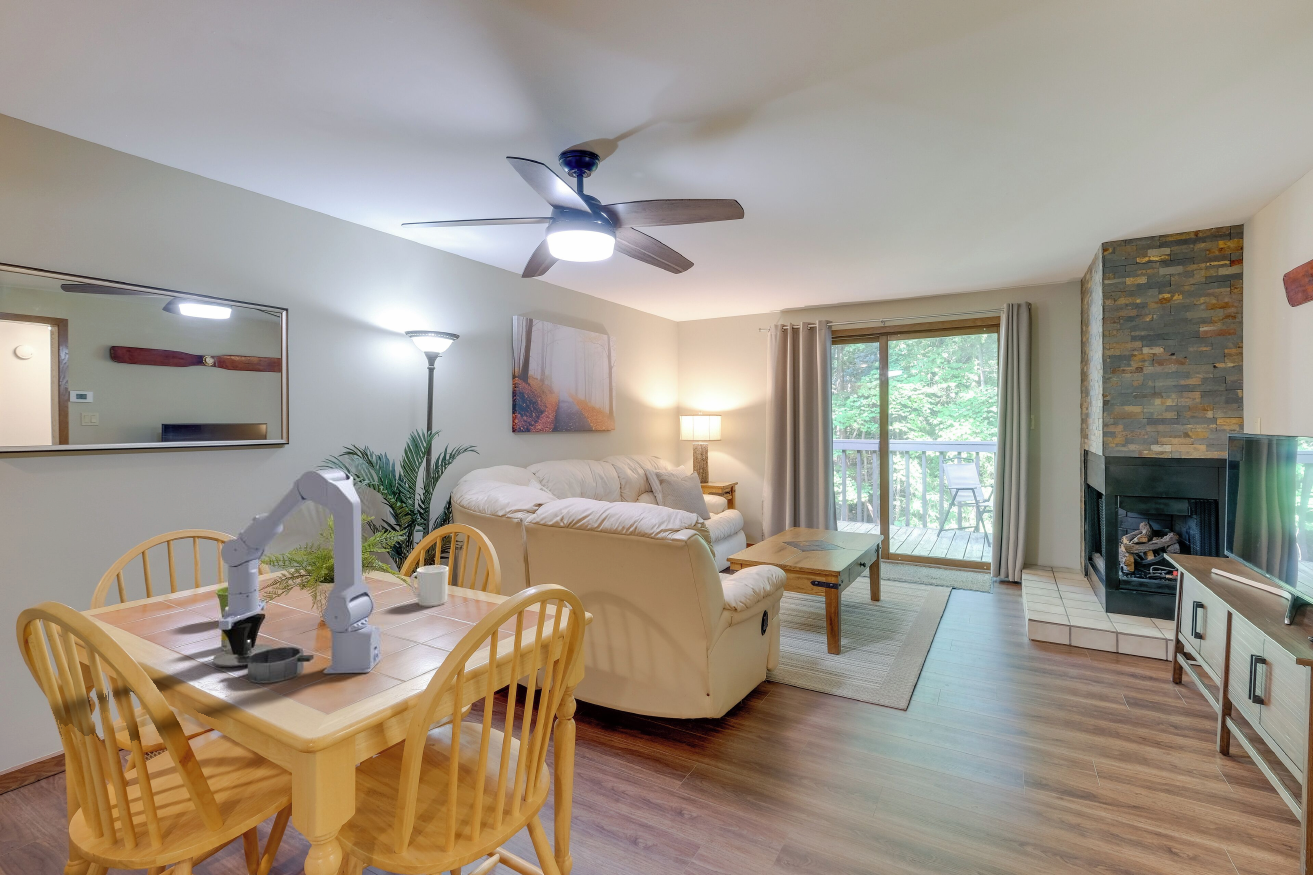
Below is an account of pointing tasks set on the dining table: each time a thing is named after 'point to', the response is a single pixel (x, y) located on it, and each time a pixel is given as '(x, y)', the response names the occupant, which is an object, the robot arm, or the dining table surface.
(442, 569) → the mug
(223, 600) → the plant pot
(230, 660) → the lid
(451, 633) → the dining table surface
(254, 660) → the pot
